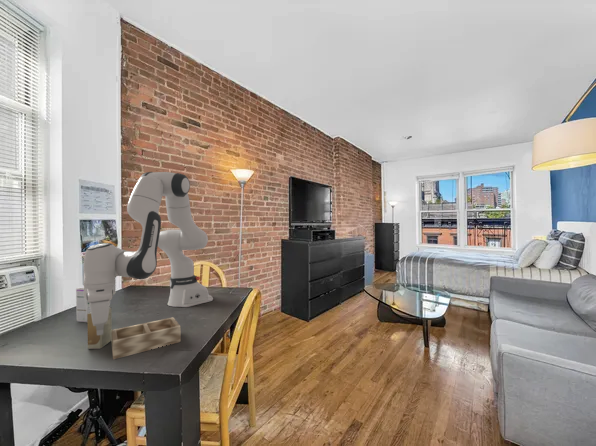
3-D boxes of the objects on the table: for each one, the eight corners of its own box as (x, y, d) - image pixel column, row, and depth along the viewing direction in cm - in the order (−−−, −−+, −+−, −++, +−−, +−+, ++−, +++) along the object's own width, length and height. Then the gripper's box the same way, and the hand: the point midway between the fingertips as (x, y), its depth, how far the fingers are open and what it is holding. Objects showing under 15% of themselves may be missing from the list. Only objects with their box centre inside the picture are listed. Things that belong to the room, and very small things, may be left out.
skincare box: (99, 340, 93) (99, 306, 93) (112, 340, 93) (112, 306, 93) (86, 349, 86) (86, 313, 86) (100, 349, 87) (100, 312, 87)
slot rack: (173, 331, 101) (173, 317, 101) (180, 341, 92) (180, 326, 92) (111, 345, 89) (111, 329, 89) (113, 359, 80) (113, 341, 80)
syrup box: (87, 322, 110) (87, 288, 110) (75, 321, 111) (75, 287, 111) (99, 317, 115) (99, 285, 115) (89, 316, 117) (89, 284, 117)
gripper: (89, 286, 96) (89, 323, 96) (87, 298, 80) (87, 343, 80) (110, 283, 100) (110, 319, 100) (112, 295, 84) (112, 337, 84)
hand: (100, 330), depth 90 cm, fingers closed on skincare box, 7 cm apart
